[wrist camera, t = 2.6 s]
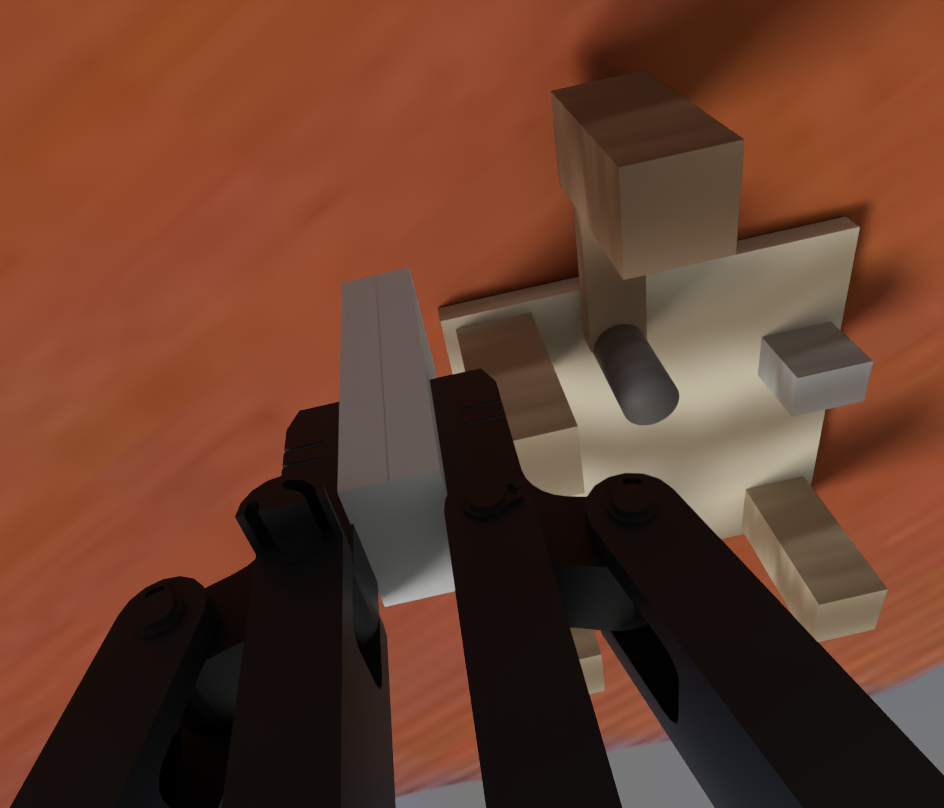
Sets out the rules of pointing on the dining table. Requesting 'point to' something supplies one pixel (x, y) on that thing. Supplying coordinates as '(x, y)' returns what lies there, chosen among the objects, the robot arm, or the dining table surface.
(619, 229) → the hinged leg
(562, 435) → the stool seat
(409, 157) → the dining table surface
